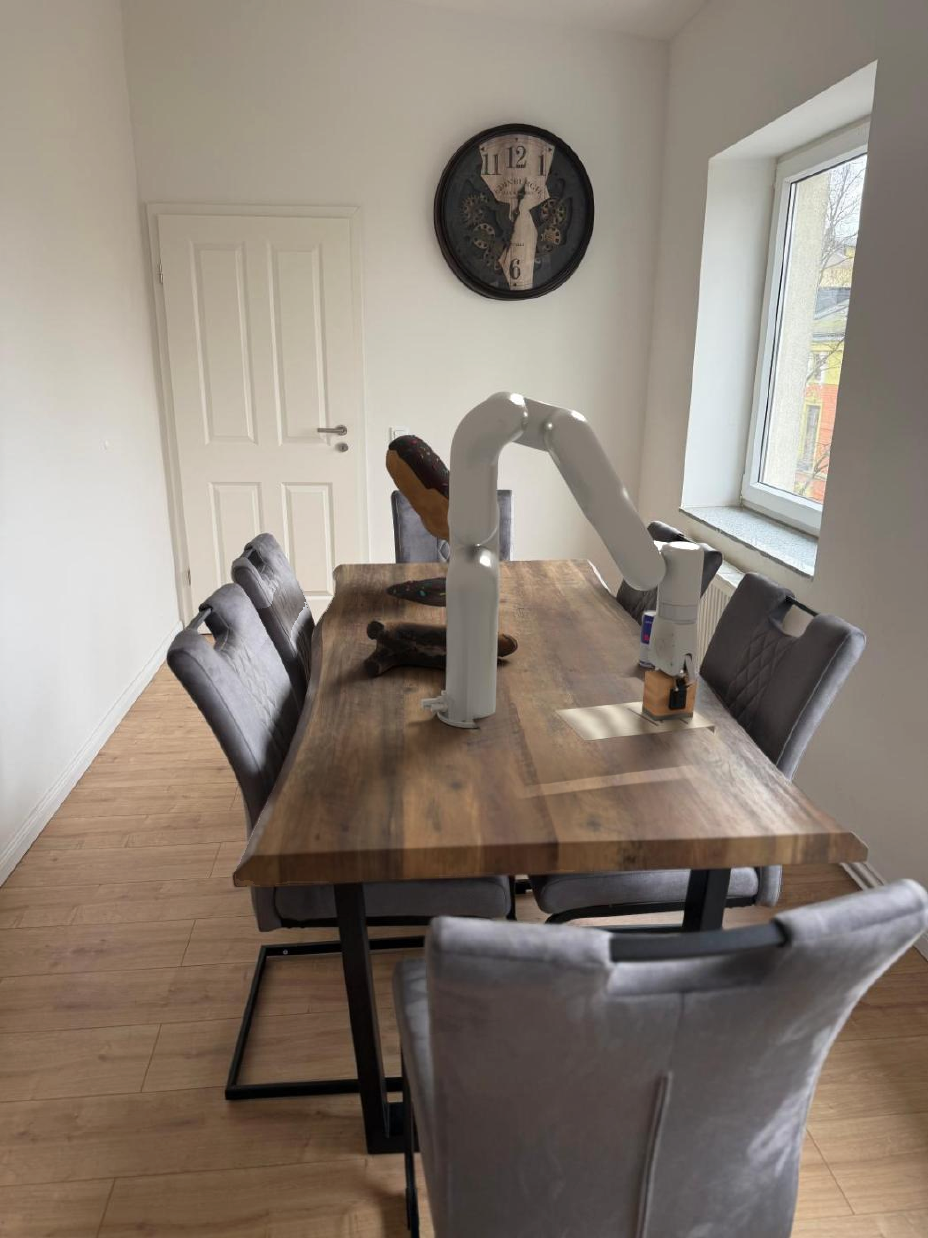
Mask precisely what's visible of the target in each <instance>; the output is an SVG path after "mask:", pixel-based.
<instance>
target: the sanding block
mask: <svg viewBox="0 0 928 1238" xmlns="http://www.w3.org/2000/svg"><path fill="white" fill-rule="evenodd" d="M682 672H683V670H681V672H680V673H682ZM695 676H696V675H695ZM681 679H683V676H681V677H678V682H679V681H680V680H681ZM697 684H698V676H696V681H695V682H694V683H692V684H691V685H690V686H689V689H688V690H687V696H686V707H685V709H680V710H670V709H669V699H670V689H673V685H672V676H670V675H668V674H666V673H665V672H663V671H662V670H655V669H653V670H645V673H644V684H643V692H642V693H643V696H642V702H643V703H642V711H643V712H644V713H645V714H647V715H648V716H649V717H650V718H652V719H653V720H654V721H659V720H669V719H679V718H690V717H693V712H694V711H695V703H696V702H695V701H696V694H697V693H696V692H697Z"/></svg>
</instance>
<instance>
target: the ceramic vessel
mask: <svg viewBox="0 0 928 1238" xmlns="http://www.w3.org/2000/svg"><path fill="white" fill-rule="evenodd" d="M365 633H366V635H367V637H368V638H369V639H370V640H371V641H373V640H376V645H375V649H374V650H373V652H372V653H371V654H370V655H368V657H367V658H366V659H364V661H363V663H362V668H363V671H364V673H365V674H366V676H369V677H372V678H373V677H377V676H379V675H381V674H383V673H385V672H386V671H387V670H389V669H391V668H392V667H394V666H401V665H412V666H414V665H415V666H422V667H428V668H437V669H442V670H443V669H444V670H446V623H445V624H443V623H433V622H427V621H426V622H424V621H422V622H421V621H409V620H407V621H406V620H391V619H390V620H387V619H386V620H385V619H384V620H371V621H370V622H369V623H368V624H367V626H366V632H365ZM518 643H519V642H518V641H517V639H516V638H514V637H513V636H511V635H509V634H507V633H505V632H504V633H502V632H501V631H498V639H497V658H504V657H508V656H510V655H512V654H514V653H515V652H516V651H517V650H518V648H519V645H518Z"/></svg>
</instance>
